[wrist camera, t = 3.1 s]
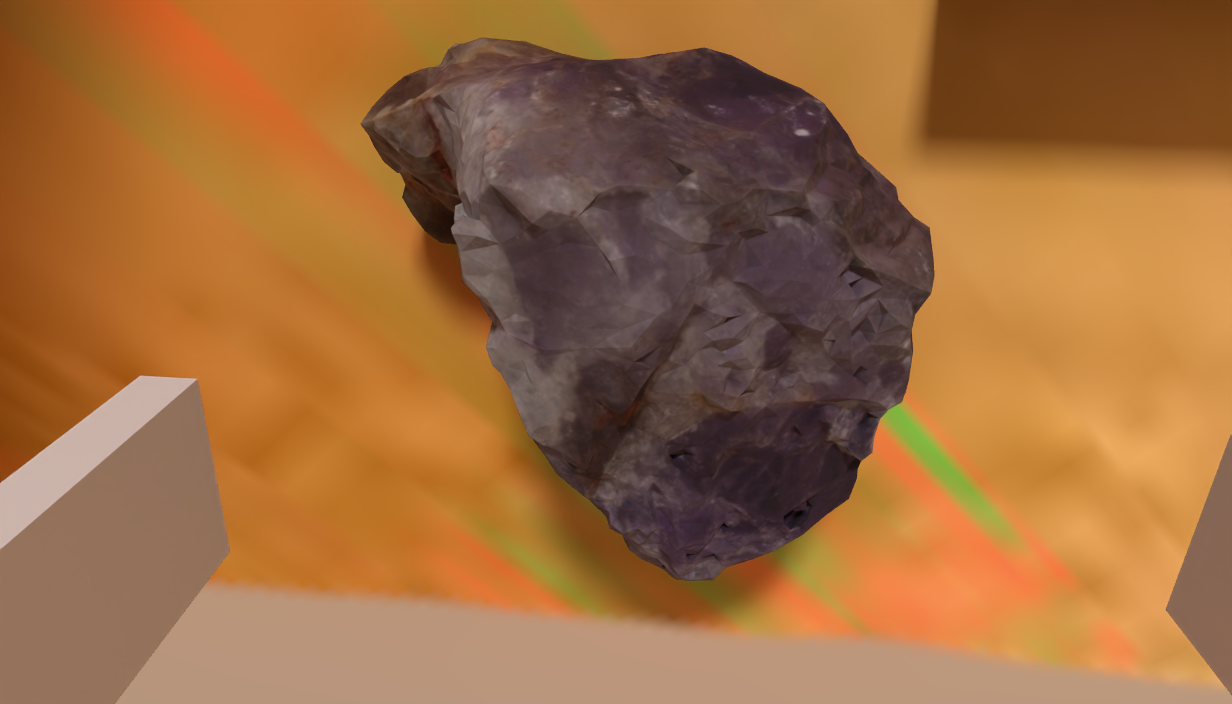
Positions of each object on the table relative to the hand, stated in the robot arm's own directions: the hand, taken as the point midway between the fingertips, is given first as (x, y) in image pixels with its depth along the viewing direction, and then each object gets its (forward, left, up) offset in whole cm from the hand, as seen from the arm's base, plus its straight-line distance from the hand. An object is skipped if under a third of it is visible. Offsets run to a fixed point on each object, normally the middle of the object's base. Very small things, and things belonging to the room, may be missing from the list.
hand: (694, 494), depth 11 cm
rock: (0, 0, -12) cm, 12 cm away
